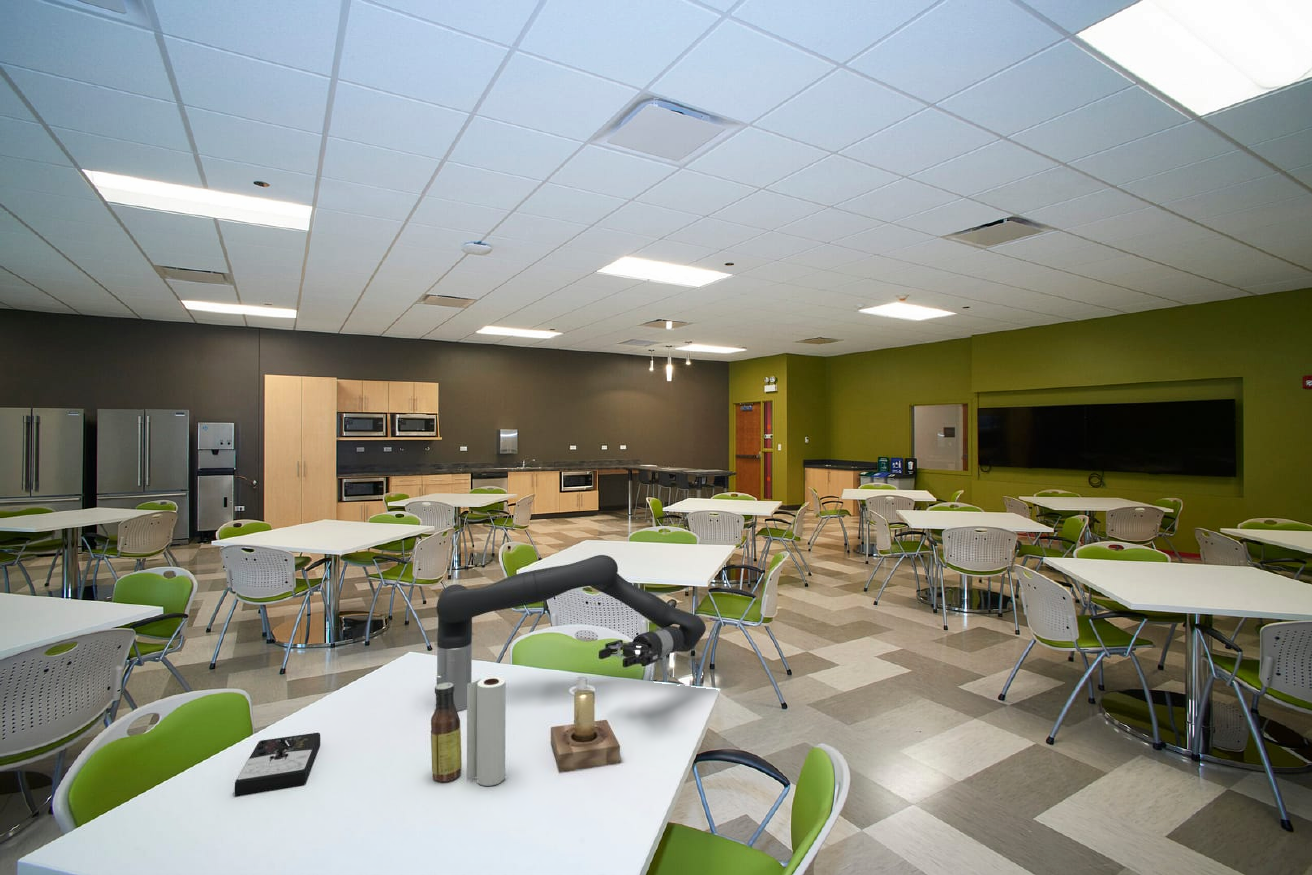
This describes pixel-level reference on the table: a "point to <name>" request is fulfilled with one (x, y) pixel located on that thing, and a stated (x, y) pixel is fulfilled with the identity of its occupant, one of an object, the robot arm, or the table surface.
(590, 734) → the yellow cylinder peg
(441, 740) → the sauce bottle
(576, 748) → the jig
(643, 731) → the table surface
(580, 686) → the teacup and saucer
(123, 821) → the table surface
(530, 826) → the table surface
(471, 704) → the paper towel roll
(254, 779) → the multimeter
